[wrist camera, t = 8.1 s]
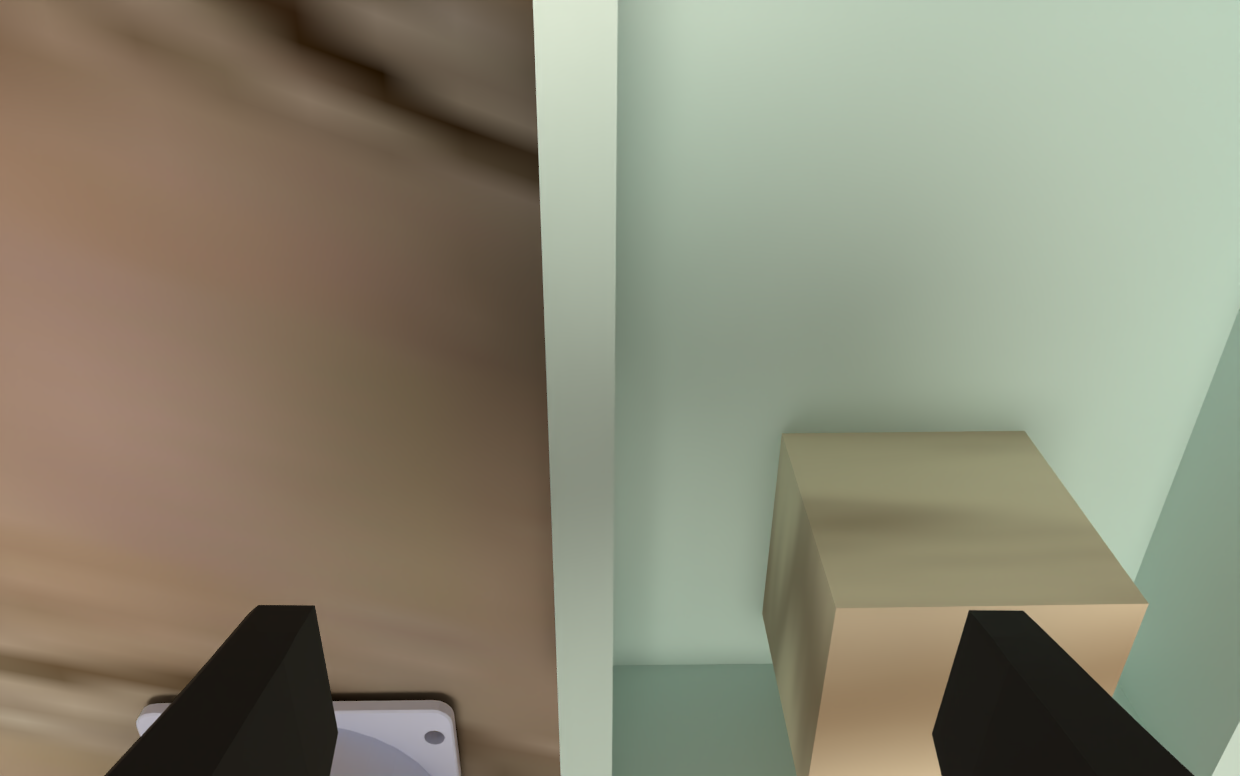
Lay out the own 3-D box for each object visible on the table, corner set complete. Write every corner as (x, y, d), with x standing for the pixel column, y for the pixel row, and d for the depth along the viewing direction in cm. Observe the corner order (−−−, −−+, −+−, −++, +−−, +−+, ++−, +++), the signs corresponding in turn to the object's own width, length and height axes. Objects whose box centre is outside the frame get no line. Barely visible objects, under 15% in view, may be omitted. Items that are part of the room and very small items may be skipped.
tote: (1113, 658, 24) (1225, 837, 20) (569, 663, 24) (563, 847, 19) (1429, -149, 15) (1770, -141, 11) (547, -158, 14) (526, -155, 10)
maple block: (976, 610, 22) (1070, 802, 17) (762, 613, 22) (803, 807, 17) (1024, 430, 19) (1148, 603, 15) (781, 433, 19) (835, 608, 15)
